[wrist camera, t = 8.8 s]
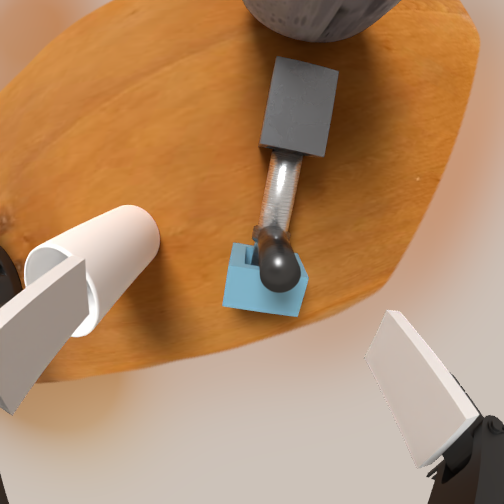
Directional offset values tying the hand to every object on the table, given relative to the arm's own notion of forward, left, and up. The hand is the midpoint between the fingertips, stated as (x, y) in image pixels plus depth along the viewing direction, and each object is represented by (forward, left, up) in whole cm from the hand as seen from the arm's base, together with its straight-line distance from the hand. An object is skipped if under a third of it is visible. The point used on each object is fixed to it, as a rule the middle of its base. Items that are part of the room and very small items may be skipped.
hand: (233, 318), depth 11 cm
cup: (-14, -5, -22) cm, 27 cm away
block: (+3, +12, -22) cm, 25 cm away
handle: (+3, +2, -21) cm, 22 cm away
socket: (+3, -6, -22) cm, 23 cm away
